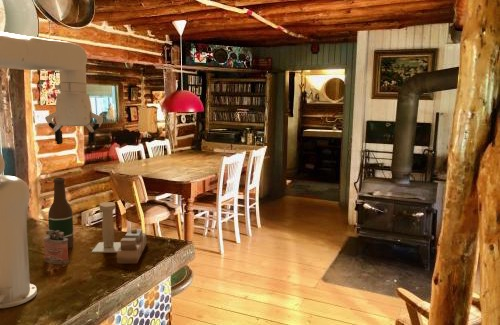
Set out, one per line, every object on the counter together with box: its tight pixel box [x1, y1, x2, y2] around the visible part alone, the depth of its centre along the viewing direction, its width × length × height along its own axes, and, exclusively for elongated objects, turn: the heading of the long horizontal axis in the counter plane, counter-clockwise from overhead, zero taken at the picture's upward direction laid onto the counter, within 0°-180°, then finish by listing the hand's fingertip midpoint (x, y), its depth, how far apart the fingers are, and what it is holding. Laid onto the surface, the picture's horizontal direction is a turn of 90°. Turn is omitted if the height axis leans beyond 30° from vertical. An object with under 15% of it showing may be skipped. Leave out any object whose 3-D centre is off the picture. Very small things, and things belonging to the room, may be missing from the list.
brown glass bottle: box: [47, 177, 74, 250], centre depth 142 cm, size 8×8×24 cm
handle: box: [99, 201, 116, 248], centre depth 142 cm, size 5×6×15 cm
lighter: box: [43, 229, 70, 265], centre depth 130 cm, size 8×3×10 cm, turn 74°
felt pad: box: [91, 241, 121, 254], centre depth 144 cm, size 9×9×1 cm
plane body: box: [116, 228, 147, 264], centre depth 139 cm, size 18×6×7 cm, turn 5°
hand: (75, 144), depth 132 cm, fingers open, 9 cm apart
